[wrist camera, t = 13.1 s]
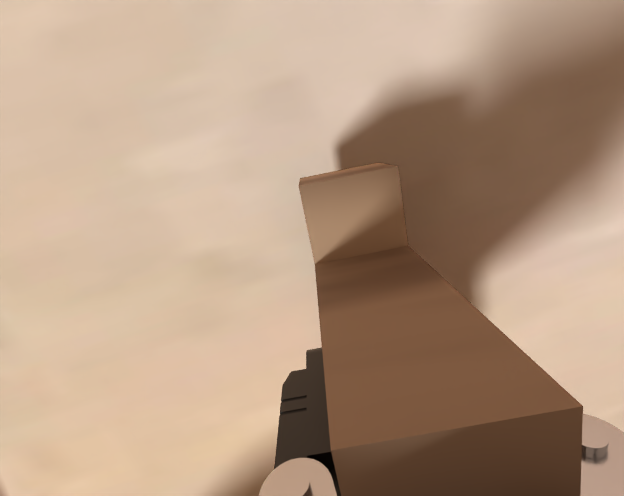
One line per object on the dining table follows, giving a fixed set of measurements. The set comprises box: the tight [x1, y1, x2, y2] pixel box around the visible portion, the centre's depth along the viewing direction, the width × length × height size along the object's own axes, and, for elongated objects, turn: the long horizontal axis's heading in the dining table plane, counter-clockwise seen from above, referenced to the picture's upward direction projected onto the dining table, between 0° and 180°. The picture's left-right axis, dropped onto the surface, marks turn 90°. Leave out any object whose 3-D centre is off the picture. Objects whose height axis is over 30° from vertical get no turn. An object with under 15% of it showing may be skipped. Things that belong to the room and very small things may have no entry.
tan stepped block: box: [299, 163, 583, 496], centre depth 10 cm, size 11×3×10 cm, turn 11°
